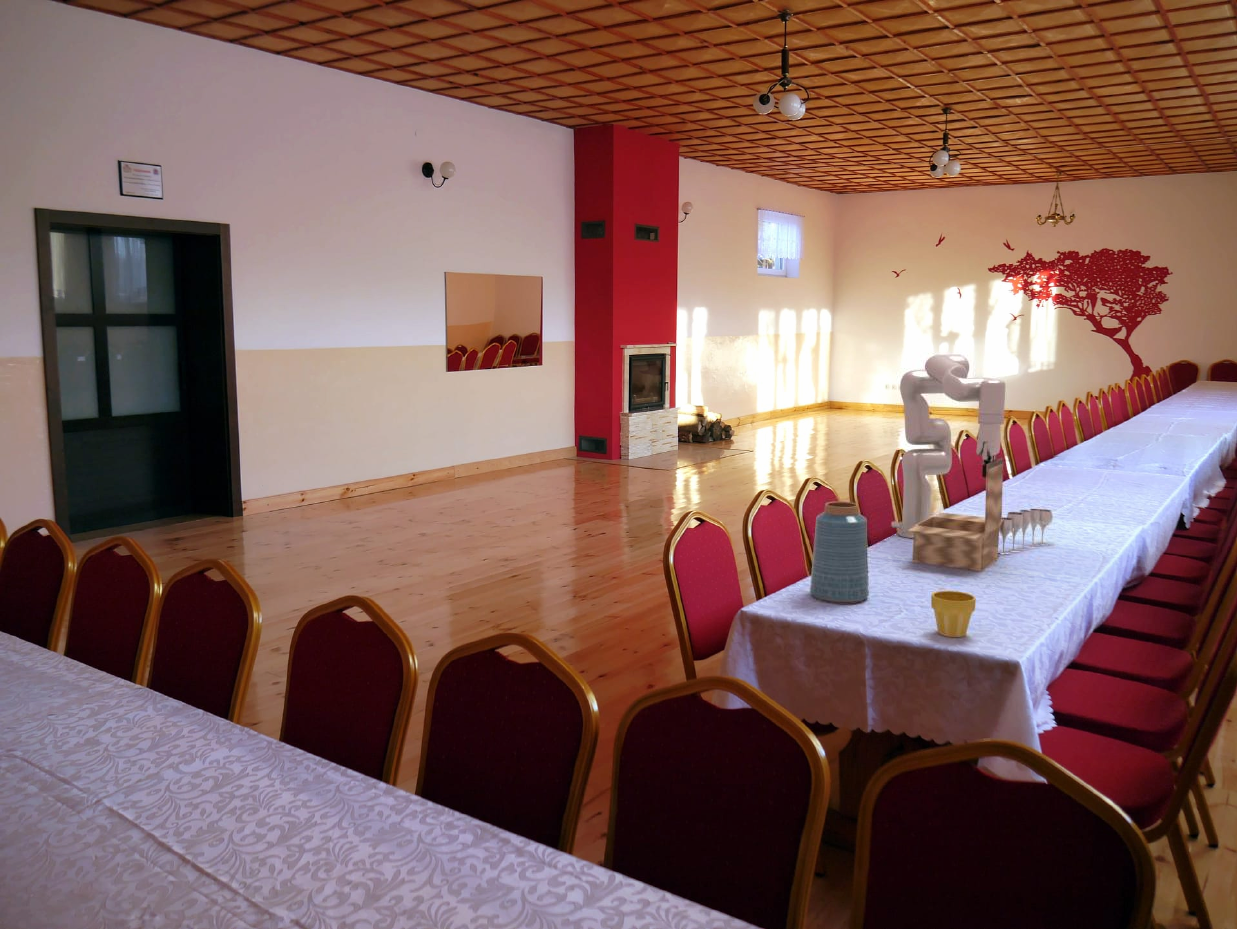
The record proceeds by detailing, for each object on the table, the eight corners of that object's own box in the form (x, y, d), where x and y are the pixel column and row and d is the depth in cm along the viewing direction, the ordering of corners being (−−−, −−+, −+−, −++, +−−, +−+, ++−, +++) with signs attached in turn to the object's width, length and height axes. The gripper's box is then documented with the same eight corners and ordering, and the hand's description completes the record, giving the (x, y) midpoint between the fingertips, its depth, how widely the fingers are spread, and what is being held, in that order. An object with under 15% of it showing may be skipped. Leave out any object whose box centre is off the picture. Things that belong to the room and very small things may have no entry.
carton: (904, 566, 307) (905, 529, 306) (937, 546, 335) (939, 512, 333) (975, 577, 295) (977, 538, 293) (1003, 554, 322) (1005, 519, 320)
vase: (835, 608, 264) (838, 511, 260) (798, 593, 278) (800, 502, 274) (881, 599, 272) (884, 506, 268) (842, 586, 286) (845, 497, 282)
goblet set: (1006, 556, 321) (1008, 516, 319) (991, 552, 326) (993, 514, 324) (1054, 544, 337) (1056, 507, 335) (1039, 541, 342) (1041, 504, 340)
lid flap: (986, 464, 297) (988, 464, 296) (1001, 457, 311) (1003, 457, 311) (984, 533, 300) (986, 533, 299) (999, 523, 314) (1001, 524, 313)
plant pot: (937, 624, 249) (938, 587, 248) (978, 631, 244) (980, 593, 242) (924, 635, 241) (926, 597, 240) (967, 642, 235) (969, 603, 234)
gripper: (985, 416, 311) (982, 473, 314) (971, 420, 299) (969, 479, 302) (1009, 418, 307) (1006, 475, 309) (996, 421, 295) (994, 481, 297)
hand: (988, 477), depth 305 cm, fingers closed
